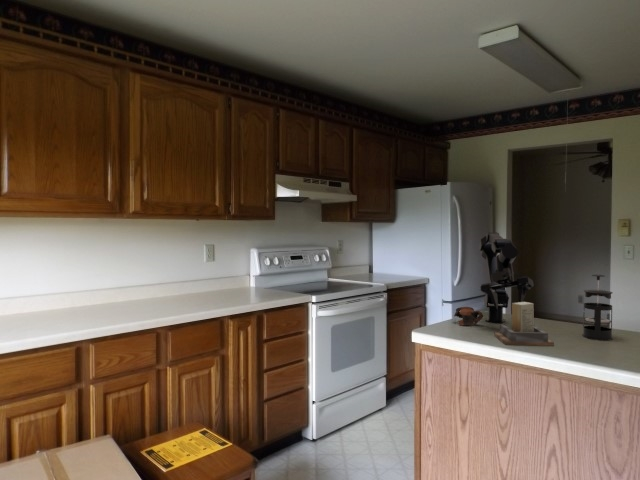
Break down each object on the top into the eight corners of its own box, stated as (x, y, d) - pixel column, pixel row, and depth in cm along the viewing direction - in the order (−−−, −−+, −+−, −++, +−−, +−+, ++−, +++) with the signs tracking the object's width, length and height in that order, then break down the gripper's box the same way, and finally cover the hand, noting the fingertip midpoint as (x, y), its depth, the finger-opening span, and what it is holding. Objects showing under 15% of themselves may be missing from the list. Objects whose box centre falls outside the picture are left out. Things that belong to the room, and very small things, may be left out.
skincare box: (524, 334, 166) (524, 301, 165) (534, 337, 162) (534, 303, 161) (510, 336, 163) (511, 302, 163) (520, 339, 159) (520, 304, 159)
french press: (613, 342, 160) (614, 276, 160) (582, 338, 165) (583, 275, 164) (611, 335, 170) (612, 273, 170) (582, 332, 175) (583, 272, 174)
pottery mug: (451, 326, 188) (450, 307, 192) (460, 332, 194) (459, 314, 198) (480, 322, 181) (478, 302, 185) (488, 329, 187) (486, 310, 191)
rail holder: (494, 335, 169) (494, 324, 169) (539, 336, 168) (539, 325, 168) (505, 344, 156) (505, 332, 156) (554, 345, 155) (554, 333, 155)
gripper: (472, 267, 181) (475, 305, 174) (519, 257, 168) (524, 297, 162) (485, 275, 188) (488, 312, 181) (531, 266, 175) (536, 305, 169)
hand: (508, 306), depth 173 cm, fingers open, 9 cm apart
